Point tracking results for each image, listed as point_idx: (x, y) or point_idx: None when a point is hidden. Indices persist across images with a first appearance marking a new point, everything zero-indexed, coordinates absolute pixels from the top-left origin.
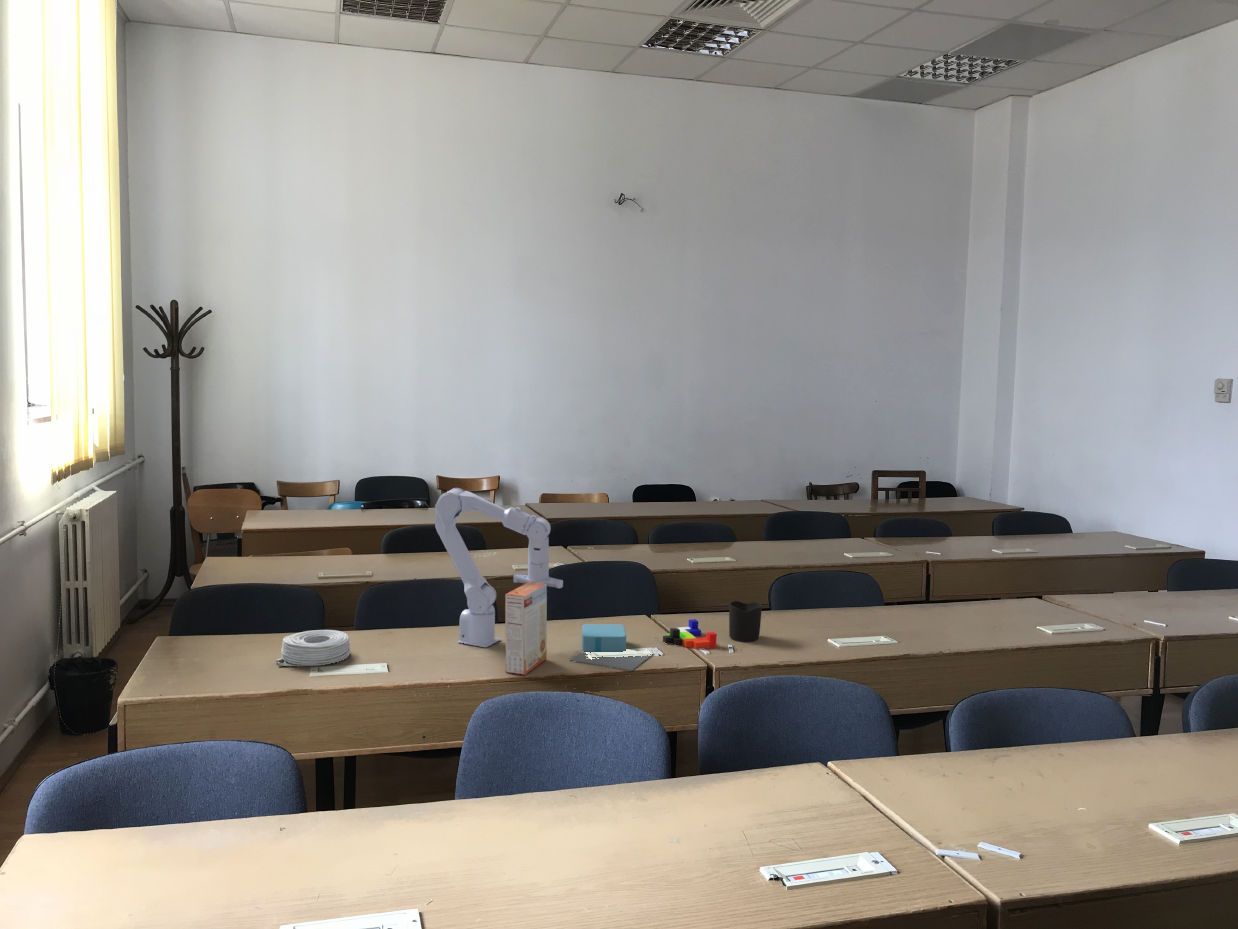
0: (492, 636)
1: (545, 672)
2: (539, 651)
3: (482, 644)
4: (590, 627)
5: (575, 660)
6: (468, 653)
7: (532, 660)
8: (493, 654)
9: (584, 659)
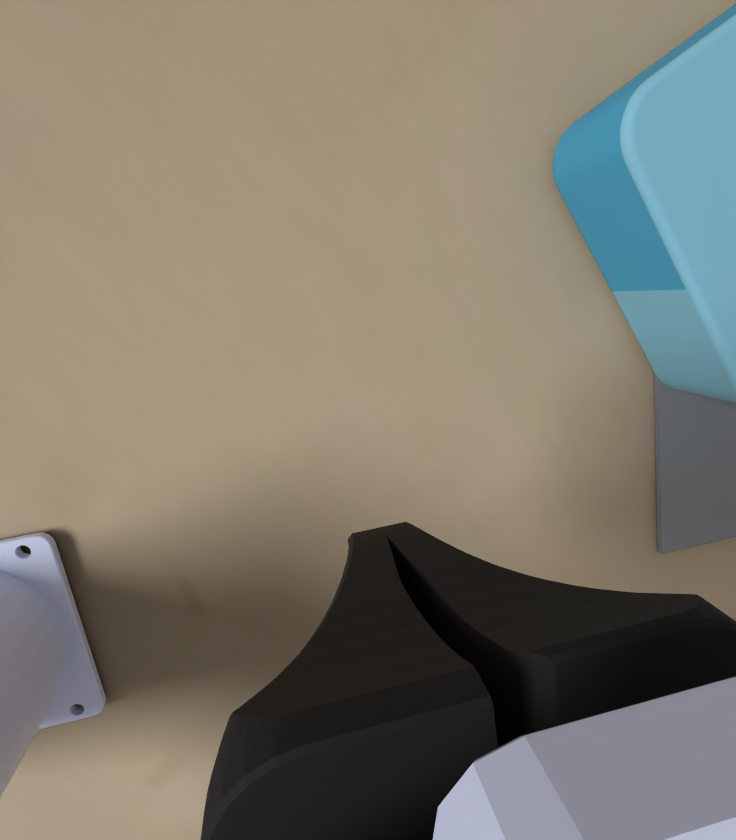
0: (50, 660)
1: None
2: None
3: (56, 710)
4: (720, 174)
5: (696, 542)
6: (100, 826)
7: None
8: None
9: (730, 498)
